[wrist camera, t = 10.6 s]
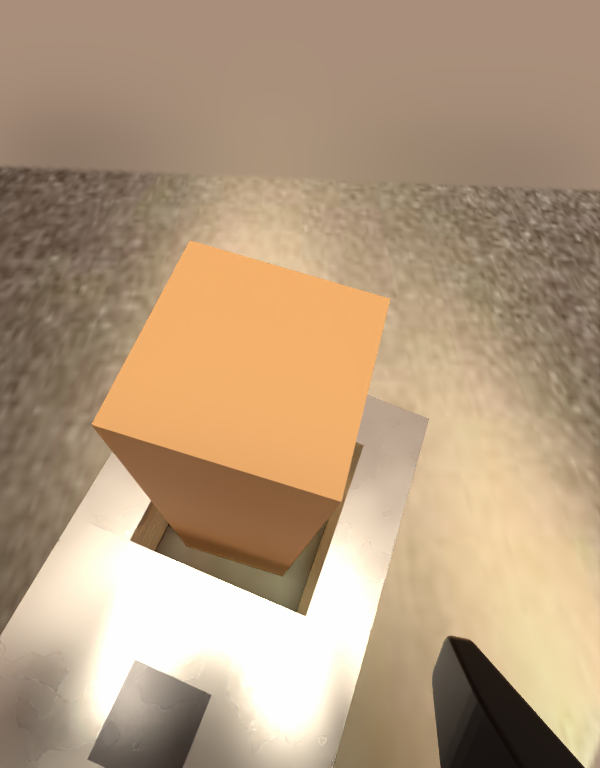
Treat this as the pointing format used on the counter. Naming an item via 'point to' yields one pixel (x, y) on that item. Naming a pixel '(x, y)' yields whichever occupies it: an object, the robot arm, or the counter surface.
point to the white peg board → (198, 633)
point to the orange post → (245, 403)
